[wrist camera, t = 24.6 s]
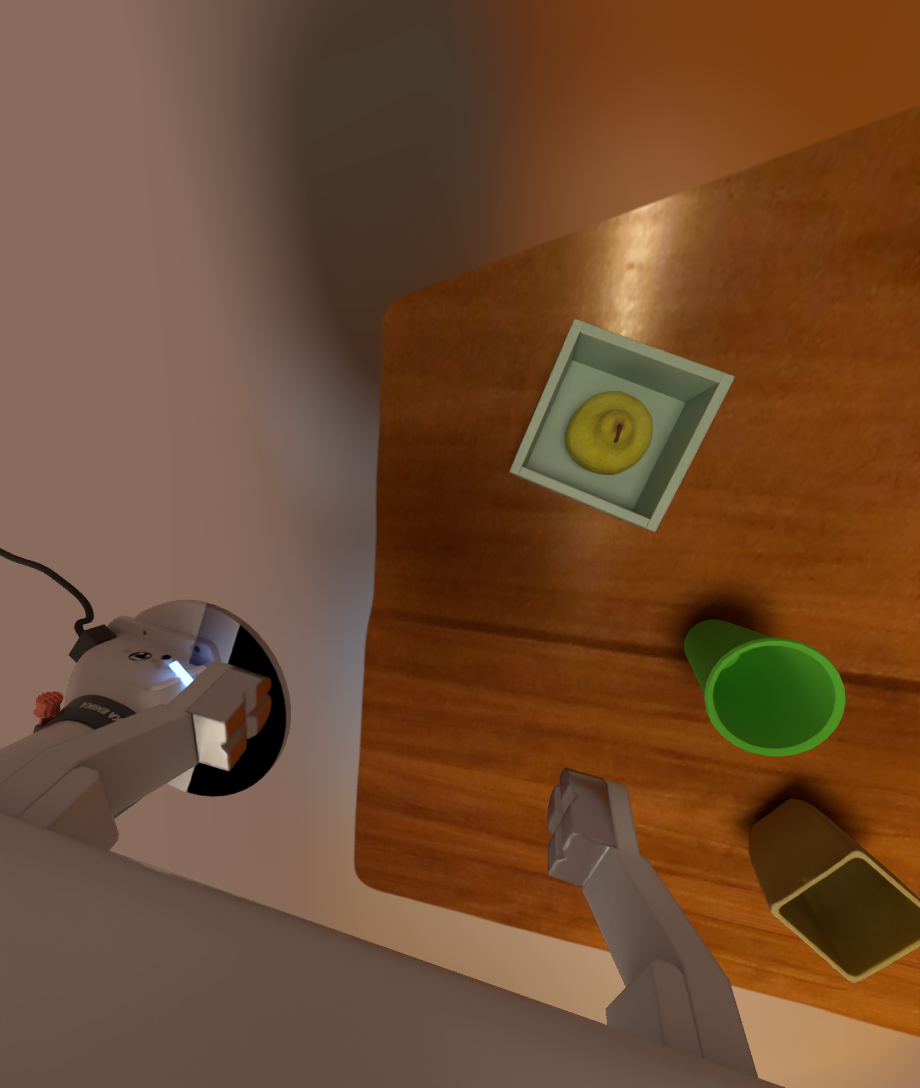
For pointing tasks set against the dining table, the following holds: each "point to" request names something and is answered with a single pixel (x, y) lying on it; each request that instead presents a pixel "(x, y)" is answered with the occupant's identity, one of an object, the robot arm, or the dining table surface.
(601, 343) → the bin
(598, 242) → the dining table surface
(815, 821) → the flower pot
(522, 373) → the dining table surface
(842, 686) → the cup
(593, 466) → the fruit
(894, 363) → the dining table surface
